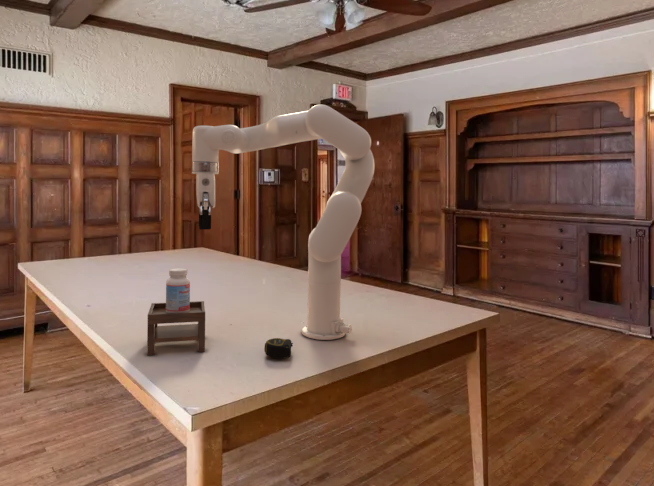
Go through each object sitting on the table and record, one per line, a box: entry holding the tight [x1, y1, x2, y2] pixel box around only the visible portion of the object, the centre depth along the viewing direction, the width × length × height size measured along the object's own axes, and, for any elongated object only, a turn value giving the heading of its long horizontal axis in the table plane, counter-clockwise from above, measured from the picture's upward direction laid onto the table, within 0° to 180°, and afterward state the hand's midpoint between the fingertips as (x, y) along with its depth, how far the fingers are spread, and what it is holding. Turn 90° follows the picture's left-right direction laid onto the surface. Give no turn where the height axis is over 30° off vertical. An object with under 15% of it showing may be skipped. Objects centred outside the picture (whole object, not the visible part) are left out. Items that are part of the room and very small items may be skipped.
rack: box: [146, 300, 206, 356], centre depth 122 cm, size 14×12×10 cm
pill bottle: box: [165, 267, 191, 313], centre depth 122 cm, size 6×6×11 cm
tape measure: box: [264, 337, 294, 359], centre depth 116 cm, size 7×7×4 cm
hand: (204, 227), depth 135 cm, fingers open, 9 cm apart
